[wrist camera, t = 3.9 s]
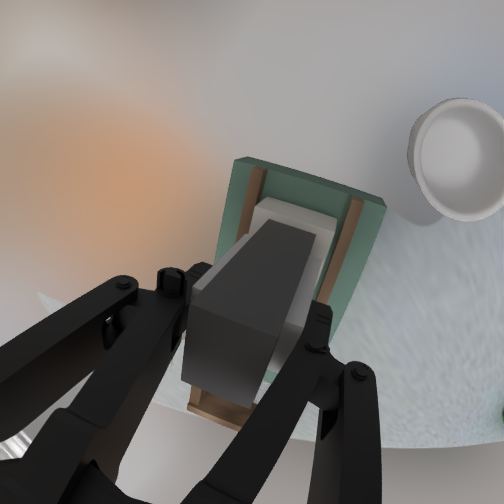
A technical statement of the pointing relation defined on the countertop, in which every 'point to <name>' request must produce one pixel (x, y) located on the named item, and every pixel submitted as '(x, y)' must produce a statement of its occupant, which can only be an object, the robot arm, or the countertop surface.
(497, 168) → the teacup
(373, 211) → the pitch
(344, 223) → the rails
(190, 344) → the block
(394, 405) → the countertop surface
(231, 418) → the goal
